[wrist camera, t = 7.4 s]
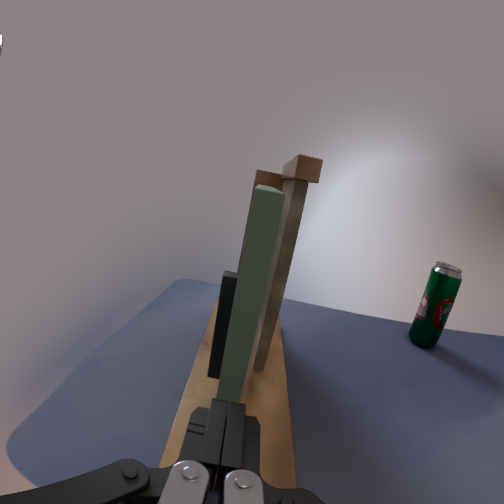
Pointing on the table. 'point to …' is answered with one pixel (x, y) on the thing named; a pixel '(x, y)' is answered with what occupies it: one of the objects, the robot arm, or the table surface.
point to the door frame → (259, 343)
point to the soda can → (435, 305)
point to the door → (244, 296)
